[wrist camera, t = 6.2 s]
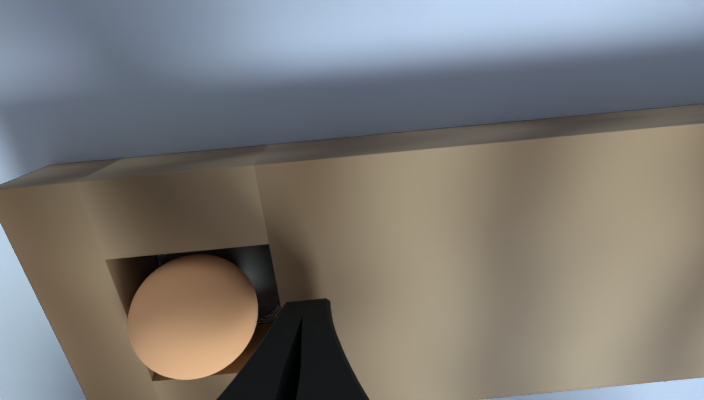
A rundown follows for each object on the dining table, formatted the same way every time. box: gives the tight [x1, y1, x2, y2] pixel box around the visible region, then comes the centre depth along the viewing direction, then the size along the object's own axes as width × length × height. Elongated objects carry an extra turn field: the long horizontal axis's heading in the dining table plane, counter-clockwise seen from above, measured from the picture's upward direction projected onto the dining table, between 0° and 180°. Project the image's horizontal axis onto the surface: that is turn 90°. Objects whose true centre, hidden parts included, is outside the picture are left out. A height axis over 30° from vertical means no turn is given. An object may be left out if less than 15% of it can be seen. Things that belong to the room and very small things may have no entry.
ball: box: [128, 254, 258, 380], centre depth 12 cm, size 4×4×4 cm
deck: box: [0, 104, 704, 400], centre depth 13 cm, size 24×10×2 cm, turn 95°
